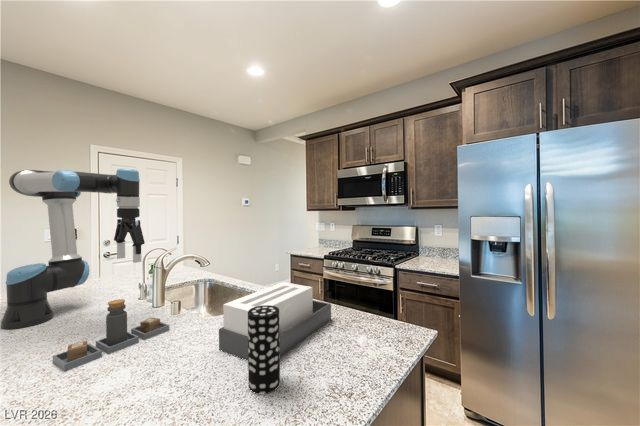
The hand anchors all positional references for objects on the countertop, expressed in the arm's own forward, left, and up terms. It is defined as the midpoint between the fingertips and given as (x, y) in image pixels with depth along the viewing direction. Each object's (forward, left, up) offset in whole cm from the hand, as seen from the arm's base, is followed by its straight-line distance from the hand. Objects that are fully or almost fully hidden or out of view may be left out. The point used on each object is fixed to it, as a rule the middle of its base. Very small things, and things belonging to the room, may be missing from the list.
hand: (128, 260), depth 113 cm
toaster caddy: (+58, +25, -27) cm, 68 cm away
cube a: (+15, 0, -26) cm, 30 cm away
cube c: (+15, -22, -26) cm, 37 cm away
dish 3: (+15, 0, -27) cm, 30 cm away
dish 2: (+15, -11, -27) cm, 32 cm away
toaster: (+56, +24, -27) cm, 67 cm away
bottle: (+15, -11, -26) cm, 32 cm away
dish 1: (+15, -22, -27) cm, 37 cm away
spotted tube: (+73, -1, -27) cm, 78 cm away
